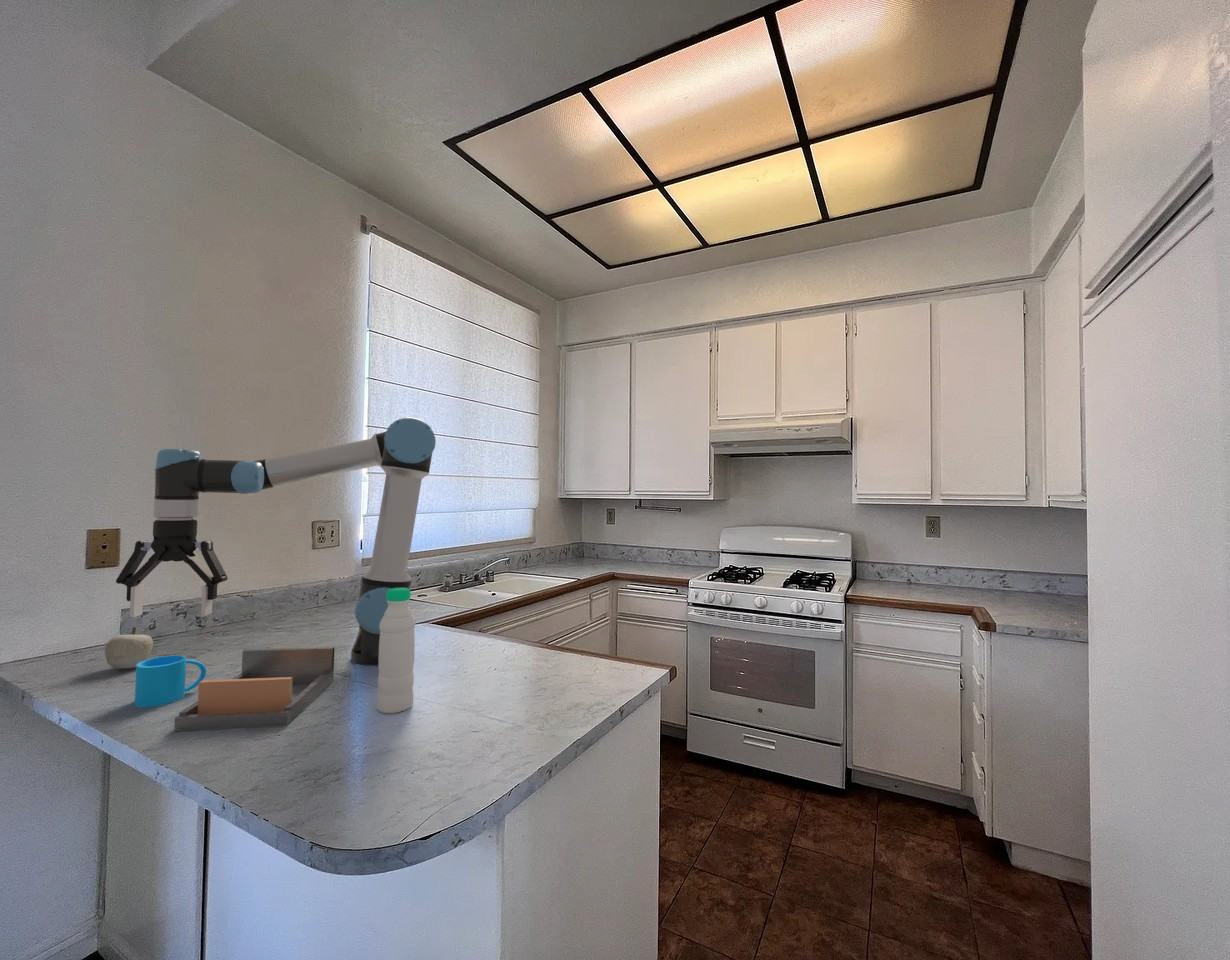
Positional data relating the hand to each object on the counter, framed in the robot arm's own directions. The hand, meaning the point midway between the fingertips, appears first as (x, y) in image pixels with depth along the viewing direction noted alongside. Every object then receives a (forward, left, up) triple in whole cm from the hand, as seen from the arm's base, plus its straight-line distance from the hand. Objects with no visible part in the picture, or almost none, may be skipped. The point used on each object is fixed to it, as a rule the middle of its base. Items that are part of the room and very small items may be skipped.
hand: (171, 615), depth 115 cm
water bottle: (-50, +13, -18) cm, 55 cm away
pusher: (-22, +13, -17) cm, 31 cm away
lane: (-22, +7, -17) cm, 29 cm away
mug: (-1, +1, -18) cm, 18 cm away
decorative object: (+21, -20, -18) cm, 34 cm away
